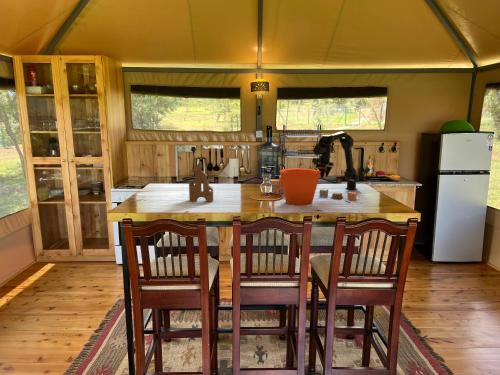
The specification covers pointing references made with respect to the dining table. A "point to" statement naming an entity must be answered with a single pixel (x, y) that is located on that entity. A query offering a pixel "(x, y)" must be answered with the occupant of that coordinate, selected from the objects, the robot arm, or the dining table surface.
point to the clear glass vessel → (277, 186)
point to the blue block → (323, 193)
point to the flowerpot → (299, 185)
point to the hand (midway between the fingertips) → (324, 177)
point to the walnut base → (337, 195)
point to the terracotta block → (352, 195)
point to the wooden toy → (196, 189)
